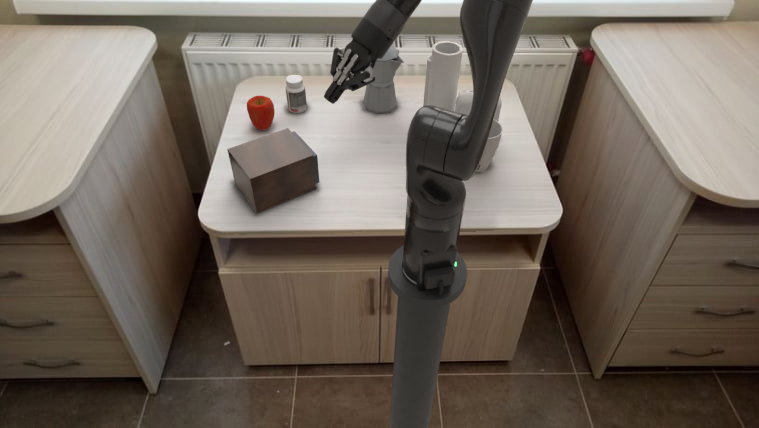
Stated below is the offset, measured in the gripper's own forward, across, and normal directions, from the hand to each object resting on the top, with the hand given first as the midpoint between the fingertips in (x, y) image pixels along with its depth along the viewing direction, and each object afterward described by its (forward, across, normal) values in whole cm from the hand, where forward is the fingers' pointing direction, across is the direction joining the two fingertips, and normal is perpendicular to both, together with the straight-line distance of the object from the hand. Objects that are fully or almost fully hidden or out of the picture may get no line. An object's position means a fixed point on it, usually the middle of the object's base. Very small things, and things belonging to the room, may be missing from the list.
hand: (328, 100), depth 109 cm
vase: (-10, -1, +33) cm, 35 cm away
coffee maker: (-4, -15, +27) cm, 31 cm away
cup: (-7, +18, +31) cm, 36 cm away
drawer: (+19, 0, +3) cm, 19 cm away
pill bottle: (+9, -24, +14) cm, 29 cm away
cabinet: (+21, 0, +2) cm, 21 cm away
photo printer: (-12, +9, +35) cm, 38 cm away
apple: (+16, -21, +7) cm, 28 cm away
